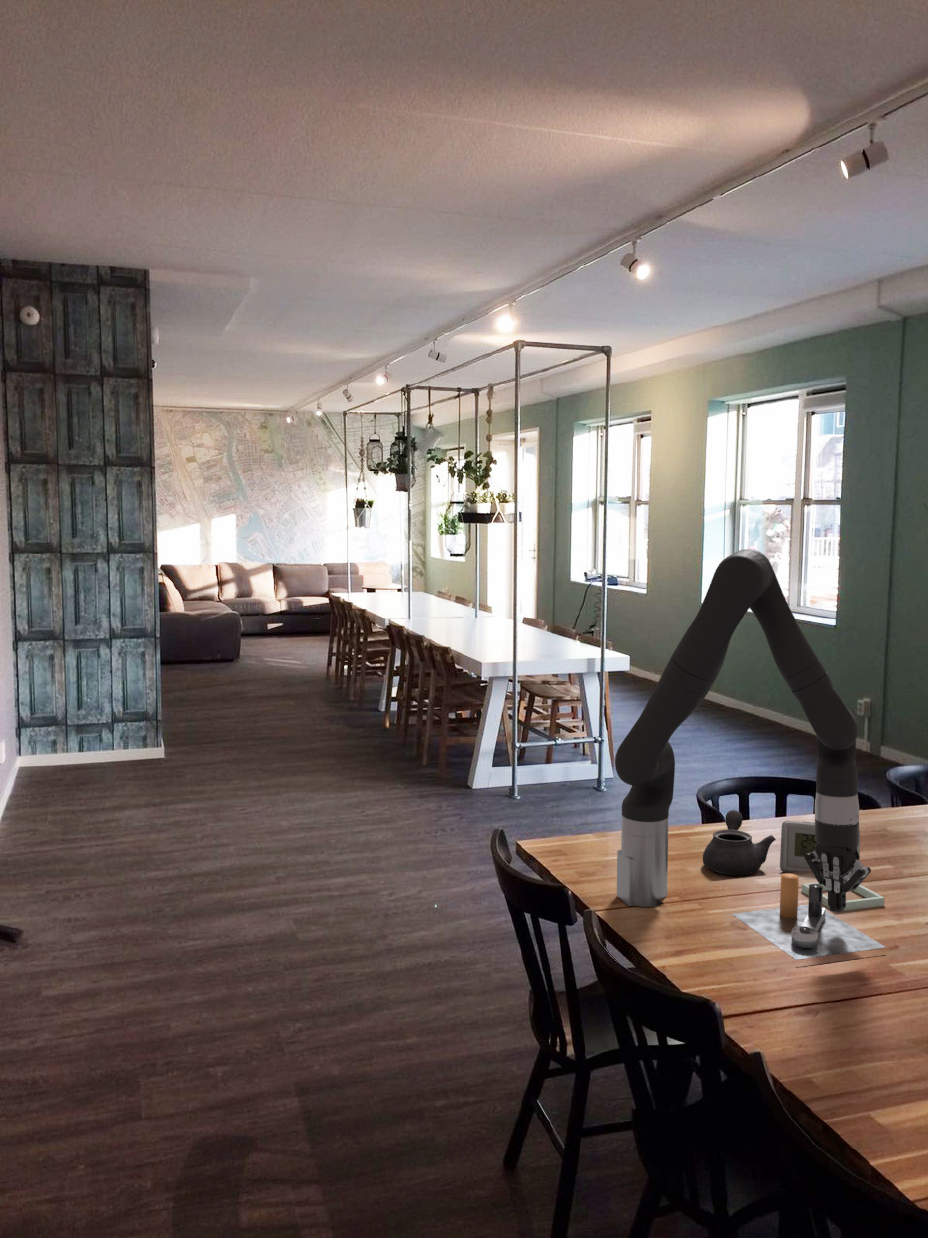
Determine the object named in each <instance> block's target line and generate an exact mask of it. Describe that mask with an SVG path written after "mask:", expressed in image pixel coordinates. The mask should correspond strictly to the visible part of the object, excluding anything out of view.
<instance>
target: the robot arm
mask: <svg viewBox="0 0 928 1238" xmlns="http://www.w3.org/2000/svg"><path fill="white" fill-rule="evenodd" d="M778 580H779V579H778V577H777V575H776V573H775V570H774V568H773V565H772V563H771V562H770V560H769V558H768V557H767V556H766V555H765V554H764V553H762V552H761V551H759V550H756V549H752V548H746V549H745V548H744V549H740V550H738V551H736V552H732V554H730V555H728V556H726V557H724V559H722V561H720V562H719V564H718V565H717V567H716V569H715V571H714V573H713V576H712V577H711V581H710V584H709V586H708V589H707V591H706V594H705V597H704V599H703V602H702V603H701V606H700V608H699V610H698V612H697V614H696V616H695V618H694V619H693V620H692V622H691V624H690V625H689V626H688V628H687V629H686V631H685V633H684V634H683V636H682V638H681V639H680V641H679V643H678V644H677V646H676V648H675V649H674V651H673V653H672V654H671V656H670V658H669V660H668V662H667V663H666V666H665V667H664V669H663V670H662V673H661V676H660V678H659V680H657V681H658V682H657V683H656V686H655V687H654V689H653V690H652V692H651V695H650V697H649V699H648V700H647V703H646V705H645V707H644V709H643V711H642V713H640V716H639V717H638V719H637V720H636V721H635V724H634V725H633V726H632V728H631V729H630V730H629V732H628V734H627V735H626V736H625V737H624V739H623V741H621V743H620V745H619V746H618V748H617V750H616V752H615V753H616V754H615V758H614V767H615V771H616V774H617V776H618V777H619V779H620V780H621V781H622V783H625V784H627V785H629V786H631V787H630V790H629V792H628V793H627V795H626V796H625V797H624V798H623V800H622V803H621V836H620V837H621V843H620V845H621V847H620V848H621V849H618V850H617V851H616V896H617V898H619V899H620V900H621V901H622V902H624V904H626V905H627V906H629V907H641V908H642V907H643V908H652V907H658V906H662V905H664V903H663V901H661V899H664V898H666V897H667V896H668V866H669V863H668V861H669V860H668V859H669V818H670V817H669V816H670V815H669V813H670V807H671V805H672V802H673V799H674V790H675V789H674V788H675V775H676V773H675V770H676V759H675V752H674V749H673V747H672V745H671V743H670V742H669V740H670V739H671V737H672V736H673V734H674V733H675V732H676V730H678V728H679V727H680V726H681V725H682V724H683V723H684V722H685V721H686V720H687V719H688V718H690V716H691V715H692V714H693V713H694V711H696V709H697V708H698V707H699V706H700V705H701V704H702V703H703V701H704V700H705V698H706V697H707V695H708V694H709V692H710V691H711V689H712V687H713V685H714V684H715V681H716V680H717V678H718V676H719V673H720V672H721V669H722V667H723V665H724V661H725V660H726V659H725V658H726V656H727V653H728V649H729V646H730V642H731V639H732V637H733V634H734V633H735V631H736V629H737V627H738V626H739V624H740V623H741V621H742V619H743V618H744V617H745V615H746V614H747V612H749V610H751V612H752V613H753V614H754V616H755V618H756V619H757V621H758V623H759V626H760V627H761V629H762V631H763V634H764V636H765V638H766V642H767V645H768V647H769V649H770V653H771V655H772V658H773V660H774V662H775V664H776V665H775V666H776V667H777V668H778V670H779V673H780V674H781V677H782V678H783V680H784V682H785V683H786V684H787V686H788V688H789V690H790V691H791V693H792V694H793V695H794V697H795V698H796V700H797V701H798V703H799V705H800V706H801V708H802V710H803V712H804V714H805V716H806V718H807V720H808V722H809V725H810V726H811V728H812V729H813V732H814V734H815V735H816V749H817V750H816V751H817V764H816V773H815V774H816V775H815V776H816V778H815V779H816V780H815V784H816V785H815V786H816V787H815V790H816V792H815V802H814V823H815V840H816V842H817V844H816V846H815V850H814V851H813V852H811V853H808V854H805V856H804V858H805V860H806V862H807V863H808V865H809V867H810V869H811V872H812V874H813V876H814V877H815V879H816V882H818V883H819V884H821V885H822V884H823V885H824V886H826V888H827V890H826V891H827V897H828V906H829V907H830V908H829V910H830V911H832V912H834V913H837V914H838V913H841V912H843V910H844V909H845V907H846V901H847V893H849V892H851V891H853V890H855V889H856V888H857V887H858V886H859V885H861V883H863V881H865V879H866V878H867V877H868V876H869V875H870V874H871V872H872V868H871V867H870V866H865V865H864V864H863V863H862V861H859V859H860V860H861V858H860V857H861V856H859V853H858V850H857V847H858V844H859V830H860V803H859V796H858V795H859V794H858V793H859V790H858V787H859V786H858V782H859V780H858V778H859V777H858V768H857V763H856V756H857V755H856V752H857V750H856V749H857V740H858V739H857V738H858V736H859V726H858V722H857V718H856V716H855V715H854V713H853V712H852V710H850V709H849V708H847V706H846V704H845V703H844V701H843V700H842V698H841V697H840V695H839V694H838V692H837V691H836V689H835V686H834V683H833V681H832V679H831V677H830V675H829V674H828V672H827V670H826V668H825V667H824V665H823V663H822V662H821V660H820V659H819V657H818V656H817V653H815V651H814V649H813V648H812V646H811V644H810V642H809V641H808V639H807V638H806V636H805V634H804V632H803V630H802V629H801V627H800V625H799V623H798V622H797V619H796V617H795V615H794V614H793V611H792V609H791V608H790V605H789V604H788V601H787V599H786V597H785V594H784V593H783V590H782V588H781V585H780V582H779V581H778ZM853 868H854V870H853V876H852V877H851V878H850V875H851V870H852V869H853ZM849 878H850V879H849Z"/></svg>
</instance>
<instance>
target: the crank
mask: <svg viewBox="0 0 928 1238" xmlns="http://www.w3.org/2000/svg"><path fill="white" fill-rule="evenodd" d="M823 892H824V890H823V886H821V885H819V884H810V885H809V896H808V901H807V905H808V915H807V917H806V918H805V920H804V922H803V924H802V926H798V927H794V928H792V938H791V942H792V943H793V944H794V945H796V946H798V947H802V948H814V947H816V946H817V945H818V930H819V928H820V926H821V924H822V922H823V920H824V918H825V913H826V911H827V909H826V907H823V904H822V897H823Z"/></svg>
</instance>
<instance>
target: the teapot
mask: <svg viewBox="0 0 928 1238" xmlns="http://www.w3.org/2000/svg"><path fill="white" fill-rule="evenodd" d="M724 820H725V825H726V828H727V829H721V830H717V831H716V830H715V832H713V833H712V838H711V840H709V841H710V842H709V843H708V844H707V845H706V847H705V849H704V850H703V853H702V863H703V865H704V867H706V868H707V869H709V870H711V871H714V872H716V873H719V874H723V875H730V876H741V875H744V876H745V875H750V874H753V873H756V872H757V871H759V870H760V869H761V868H762V865H763V864H764V863H765V862H766V860H767V857H768V852H769V849H770V847H771V845H772V844H773V843H774V842H775V841H776V838H775V836H774V835H772V834H770V835H768V836H767V837H764V838H763V839H762V840H760V841H759V842H757V843H756V842H755V843H754V842H753V840H752V839H753V837H752V835H751V834H750V833H747V832H745V831H743V830H739V829H740V828H741V827H742V825H743V815H742V813H741V812H740V811H739V810H735V809H733V810H729V811H727V812H726V814H725V819H724Z"/></svg>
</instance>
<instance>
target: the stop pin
mask: <svg viewBox="0 0 928 1238" xmlns="http://www.w3.org/2000/svg"><path fill="white" fill-rule="evenodd" d="M799 880H800V877H799V875H797V874H795V873H787V872H785V873H782V874H781V875H780V890H779V891H780V897H779V898H780V899H779V908H780V915H781V916H782V917H785V918H796V917H797V914H798V906H799V905H798V904H799V886H800V885H799V884H800V883H799V882H800V881H799Z"/></svg>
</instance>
